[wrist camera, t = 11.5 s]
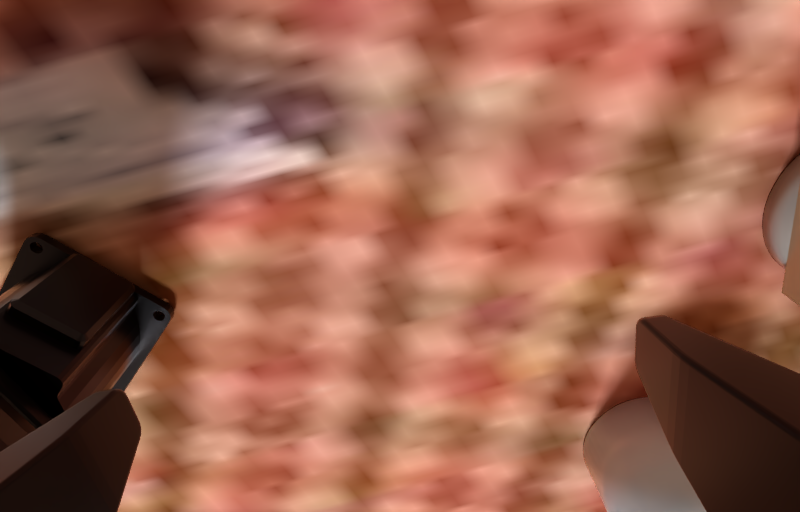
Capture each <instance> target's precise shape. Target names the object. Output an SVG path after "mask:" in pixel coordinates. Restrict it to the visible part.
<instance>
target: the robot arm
mask: <svg viewBox="0 0 800 512" xmlns="http://www.w3.org/2000/svg"><path fill="white" fill-rule="evenodd" d="M36 243H39V244H40V245H41V246H42V248H43V249H40V248H39V247H38V246H37V244H36ZM157 311H160V312H162V313H163V314H164V315H165V316H161V315H159V314H158V312H157ZM173 315H174V310H173V308H172V307H171V306H170V305H169V304H168V303H166V302H164V301H163V300H161V299H159V298H157V297H155V296H154V295H152V294H150V293H148V292H147V291H145V290H143V289H141V288H140V287H138V286H136V285H134V284H132V283H131V282H129V281H127V280H126V279H124V278H122V277H120V276H119V275H117V274H115V273H113V272H111V271H110V270H108V269H106V268H104V267H103V266H101V265H99V264H97V263H96V262H94V261H92V260H90V259H88V258H87V257H85V256H83V255H81V254H79V253H78V252H76V251H74V250H72V249H70V248H69V247H67V246H65V245H63V244H62V243H60V242H58V241H56V240H55V239H53V238H51V237H49V236H47V235H45V234H43V233H36V234H33V235H31V236H30V237H28V238H27V239H26V240H25V241H24V243H23V245H22V247H21V249H20V251H19V253H18V256H17V258H16V260H15V262H14V264H13V266H12V268H11V270H10V272H9V274H8V276H7V278H6V281H5V283H4V285H3V287H2V289H1V291H0V512H117V511H118V508H119V505H120V502H121V498H122V495H123V492H124V489H125V485H126V482H127V479H128V476H129V473H130V469H131V466H132V463H133V460H134V456H135V453H136V450H137V447H138V444H139V440H140V436H141V426H140V422H139V420H138V418H137V416H136V414H135V411H134V409H133V407H132V405H131V403H130V401H129V399H128V397H127V395H126V393H125V392H124V391H125V389H126V388H127V386H128V385H129V383H130V382H131V380H132V379H133V377H134V376H135V374H136V373H137V371H138V370H139V368H140V366H141V365H142V363H143V362H144V360H145V359H146V357H147V356H148V354H149V353H150V351H151V350H152V348H153V347H154V345H155V344H156V342H157V341H158V339H159V337H160V336H161V334H162V333H163V331H164V330H165V328H166V327H167V325H168V324H169V322H170V321H171V319H172V318H173ZM635 363H636V368H637V372H638V374H639V377H640V379H641V381H642V384H643V386H644V388H645V390H646V393H647V395H648V397H649V400H650V402H651V404H652V407H653V409H654V411H655V414H656V416H657V418H658V420H659V423H660V425H661V427H662V430H663V432H664V434H665V437H666V439H667V441H668V443H669V445H670V448H671V450H672V452H673V454H674V456H675V458H676V459H677V461H678V463H679V465H680V467H681V468H682V470H683V472H684V474H685V475H686V477H687V479H688V481H689V482H690V484H691V486H692V488H693V489H694V491H695V493H696V494H697V496H698V498H699V500H700V501H701V503H702V505H703V507H704V508H705V510H706V512H800V374H799V373H797V372H794V371H792V370H790V369H787V368H785V367H783V366H780V365H778V364H776V363H773V362H771V361H769V360H767V359H764V358H762V357H760V356H757V355H755V354H753V353H750V352H748V351H746V350H743V349H741V348H739V347H736V346H734V345H732V344H730V343H727V342H725V341H723V340H720V339H718V338H716V337H713V336H711V335H709V334H706V333H704V332H702V331H699V330H697V329H695V328H693V327H690V326H688V325H686V324H683V323H681V322H679V321H676V320H674V319H672V318H669V317H667V316H663V315H660V316H653V317H646V318H641V319H639V320H638V322H637V325H636V345H635Z"/></svg>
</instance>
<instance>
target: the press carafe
mask: <svg viewBox="0 0 800 512" xmlns="http://www.w3.org/2000/svg"><path fill="white" fill-rule="evenodd" d="M762 229H763V237H764V241H765V245H766V247H767V249H768V251H769V253H770V254H771V256H772V257H773V259H774V260H775V261H776V262H777V263H778V264H779V265H781V266H782V267H783V268H785V275H784V281H783V287H782V293H783V294H784V295H786V296H787V297H788V298H790V299H791V300H792V301H794V302H795V303H797V304H798V305H799V306H800V154H799V155H798V156H797V157H796V158H795V159H794V160H793V161H792V162H791V163H790V164H789V165H788V167H787V168H786V169H785V170H784V172H783V173H782V174H781V175H780V177H779V179H778V180H777V182H776V183H775V185H774V187H773V189H772V191H771V193H770V195H769V197H768V200H767V203H766V206H765V210H764V214H763V224H762Z"/></svg>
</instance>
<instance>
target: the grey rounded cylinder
mask: <svg viewBox="0 0 800 512" xmlns="http://www.w3.org/2000/svg"><path fill="white" fill-rule="evenodd" d="M583 456H584V460H585V464H586V466H587V468H588V470H589V473H590V475H591V477H592V479H593V481H594V484H595V486H596V488H597V490H598V493H599V495H600V497H601V499H602V502H603V504H604V506H605V508H606V510H607V512H706V510H705V508H704V507H703V505H702V503H701V501H700V500H699V498H698V496H697V494H696V493H695V491H694V489H693V488H692V486H691V484H690V482H689V481H688V479H687V477H686V475H685V474H684V472H683V470H682V468H681V467H680V465H679V463H678V461H677V459H676V458H675V456H674V454H673V452H672V450H671V448H670V445H669V443H668V441H667V439H666V437H665V434H664V432H663V430H662V427H661V425H660V423H659V420H658V418H657V416H656V414H655V411H654V409H653V407H652V404H651V402H650V400H649V397H644V398H637V399H633V400H629V401H626V402H624V403H621V404H619V405H617V406H615V407H613V408H612V409H610V410H608V411H607V412H606V413H604V414H603V415H602V416H601V417H600V418H599V419H598V420H597V421H596V422H595V423H594V424H593V426H592V427H591V428H590V430H589V432H588V434H587V436H586V438H585V442H584V447H583Z"/></svg>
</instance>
